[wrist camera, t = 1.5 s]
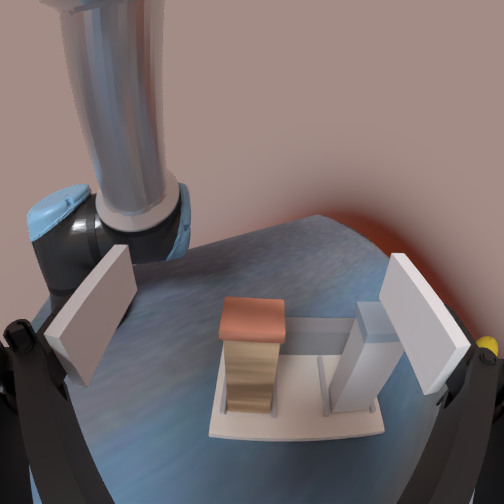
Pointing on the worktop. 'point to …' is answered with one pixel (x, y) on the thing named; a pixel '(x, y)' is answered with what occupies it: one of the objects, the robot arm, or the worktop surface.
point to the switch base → (299, 391)
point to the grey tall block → (365, 359)
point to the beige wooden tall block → (251, 350)
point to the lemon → (488, 344)
